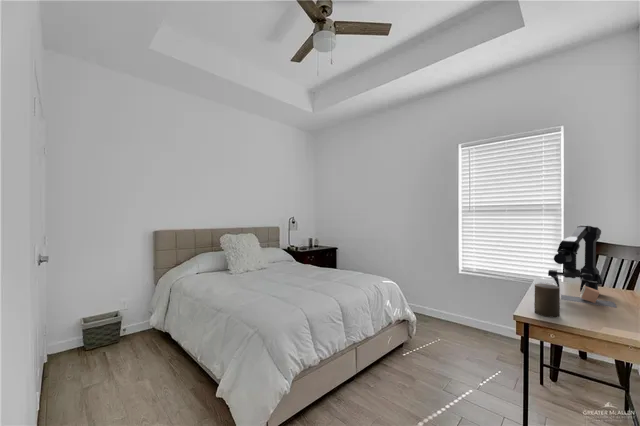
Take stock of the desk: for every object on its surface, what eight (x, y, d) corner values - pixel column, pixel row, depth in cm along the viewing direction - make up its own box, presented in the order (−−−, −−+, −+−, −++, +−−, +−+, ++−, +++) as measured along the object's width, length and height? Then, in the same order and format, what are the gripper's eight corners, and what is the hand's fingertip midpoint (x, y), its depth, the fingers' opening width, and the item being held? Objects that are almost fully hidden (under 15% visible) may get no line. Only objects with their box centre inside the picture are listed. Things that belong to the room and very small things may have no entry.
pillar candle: (556, 319, 133) (556, 286, 133) (531, 313, 141) (531, 282, 141) (562, 314, 139) (562, 283, 139) (538, 309, 147) (538, 279, 147)
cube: (584, 285, 161) (598, 290, 157) (580, 295, 162) (594, 300, 159) (584, 287, 157) (599, 293, 153) (580, 297, 158) (595, 303, 154)
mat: (561, 295, 170) (560, 294, 170) (614, 302, 156) (614, 301, 156) (560, 300, 161) (560, 299, 161) (617, 308, 147) (617, 307, 147)
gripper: (547, 262, 163) (547, 290, 163) (593, 266, 150) (593, 296, 151) (548, 260, 171) (548, 286, 171) (591, 263, 159) (591, 291, 159)
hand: (569, 290), depth 163 cm, fingers open, 9 cm apart
